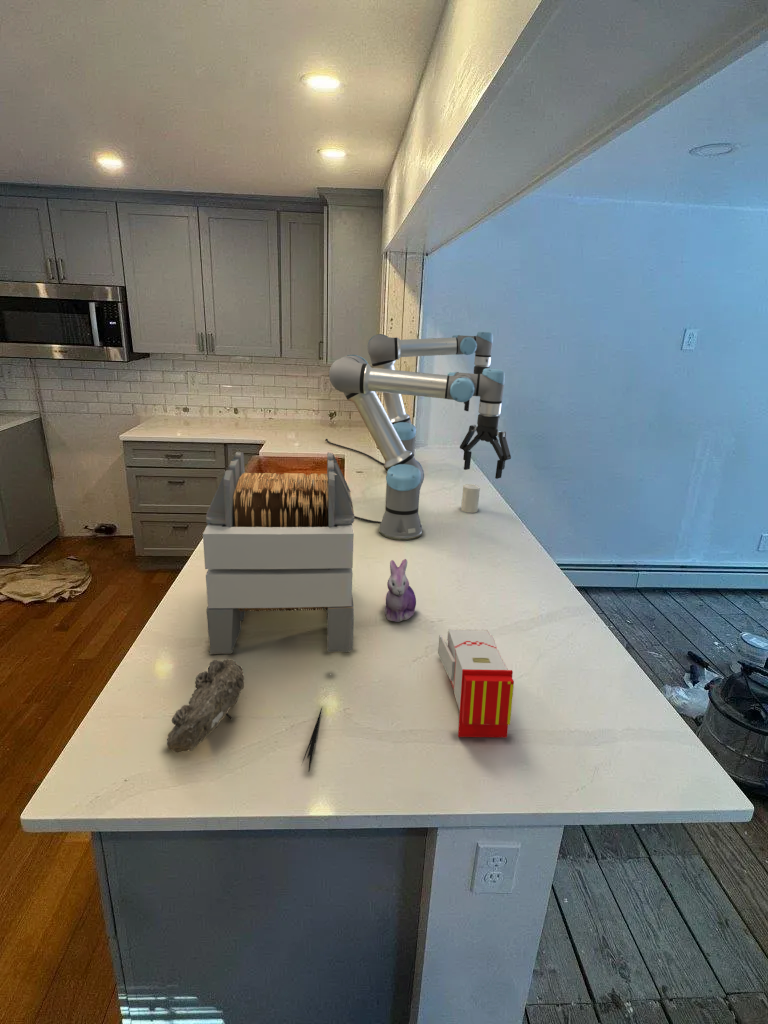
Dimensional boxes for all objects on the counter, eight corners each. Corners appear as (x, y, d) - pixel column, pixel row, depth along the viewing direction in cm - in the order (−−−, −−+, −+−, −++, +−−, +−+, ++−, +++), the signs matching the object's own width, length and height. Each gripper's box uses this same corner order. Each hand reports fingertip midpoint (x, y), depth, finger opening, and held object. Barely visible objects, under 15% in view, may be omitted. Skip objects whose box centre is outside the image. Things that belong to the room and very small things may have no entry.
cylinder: (479, 512, 225) (482, 489, 221) (463, 512, 224) (465, 488, 220) (475, 507, 231) (477, 484, 227) (459, 507, 230) (461, 483, 227)
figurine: (392, 627, 141) (395, 572, 136) (374, 608, 149) (376, 556, 144) (425, 619, 145) (429, 566, 140) (405, 601, 154) (408, 550, 149)
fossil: (192, 660, 117) (244, 628, 112) (224, 691, 120) (276, 661, 115) (142, 746, 98) (202, 712, 93) (182, 779, 101) (242, 748, 96)
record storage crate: (229, 585, 158) (221, 442, 144) (346, 584, 161) (350, 444, 148) (206, 656, 126) (193, 481, 112) (353, 652, 130) (358, 483, 116)
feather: (331, 679, 122) (336, 673, 122) (307, 777, 96) (313, 769, 95) (324, 675, 122) (329, 669, 121) (298, 772, 95) (304, 764, 95)
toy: (488, 613, 130) (523, 677, 101) (484, 667, 133) (517, 744, 104) (435, 612, 130) (455, 676, 101) (432, 666, 133) (451, 743, 103)
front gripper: (526, 419, 191) (517, 479, 198) (466, 408, 207) (460, 464, 214) (514, 421, 186) (506, 483, 193) (453, 409, 202) (448, 467, 209)
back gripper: (465, 366, 262) (461, 412, 269) (507, 366, 273) (502, 410, 281) (456, 365, 269) (452, 409, 276) (498, 364, 280) (493, 408, 287)
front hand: (482, 473), depth 204 cm, fingers open, 13 cm apart
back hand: (477, 410), depth 278 cm, fingers open, 13 cm apart
